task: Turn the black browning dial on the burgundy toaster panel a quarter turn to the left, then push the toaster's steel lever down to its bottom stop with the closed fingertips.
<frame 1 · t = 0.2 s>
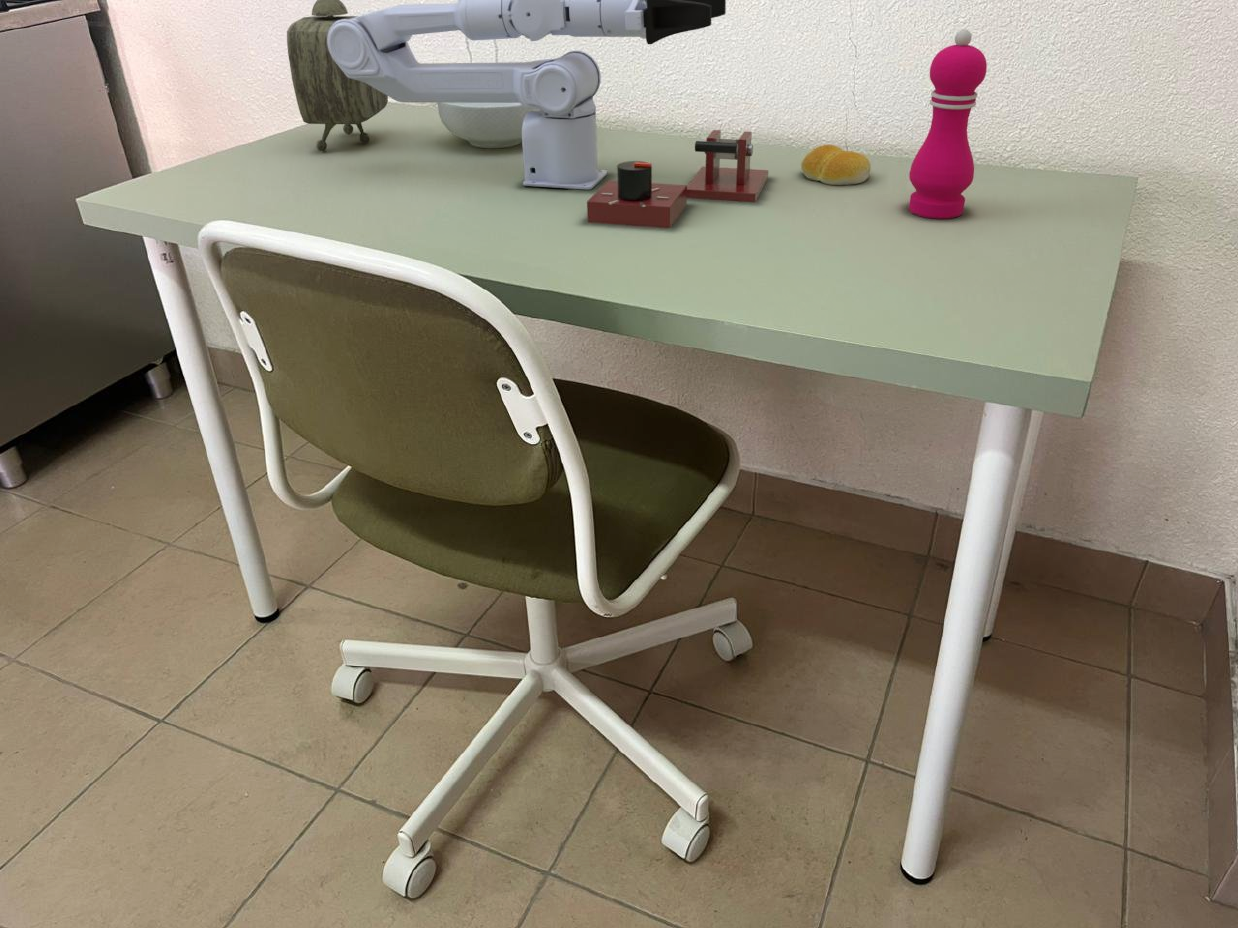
hand: (718, 10, 112), 21 cm above the table, tool horizontal, fingers open, 7 cm apart
toaster lever: (723, 148, 118), point 6 cm above the table, hinge at 15.0°
red lever base: (727, 188, 124), on the table
browning dial: (634, 179, 112), point 5 cm above the table, hinge at 0.0°
bread roll: (834, 179, 127), on the table
pepper mill: (935, 212, 115), on the table
cereal bowl: (497, 143, 147), on the table
toaster panel: (638, 214, 115), on the table
tabletop clock: (353, 144, 148), on the table
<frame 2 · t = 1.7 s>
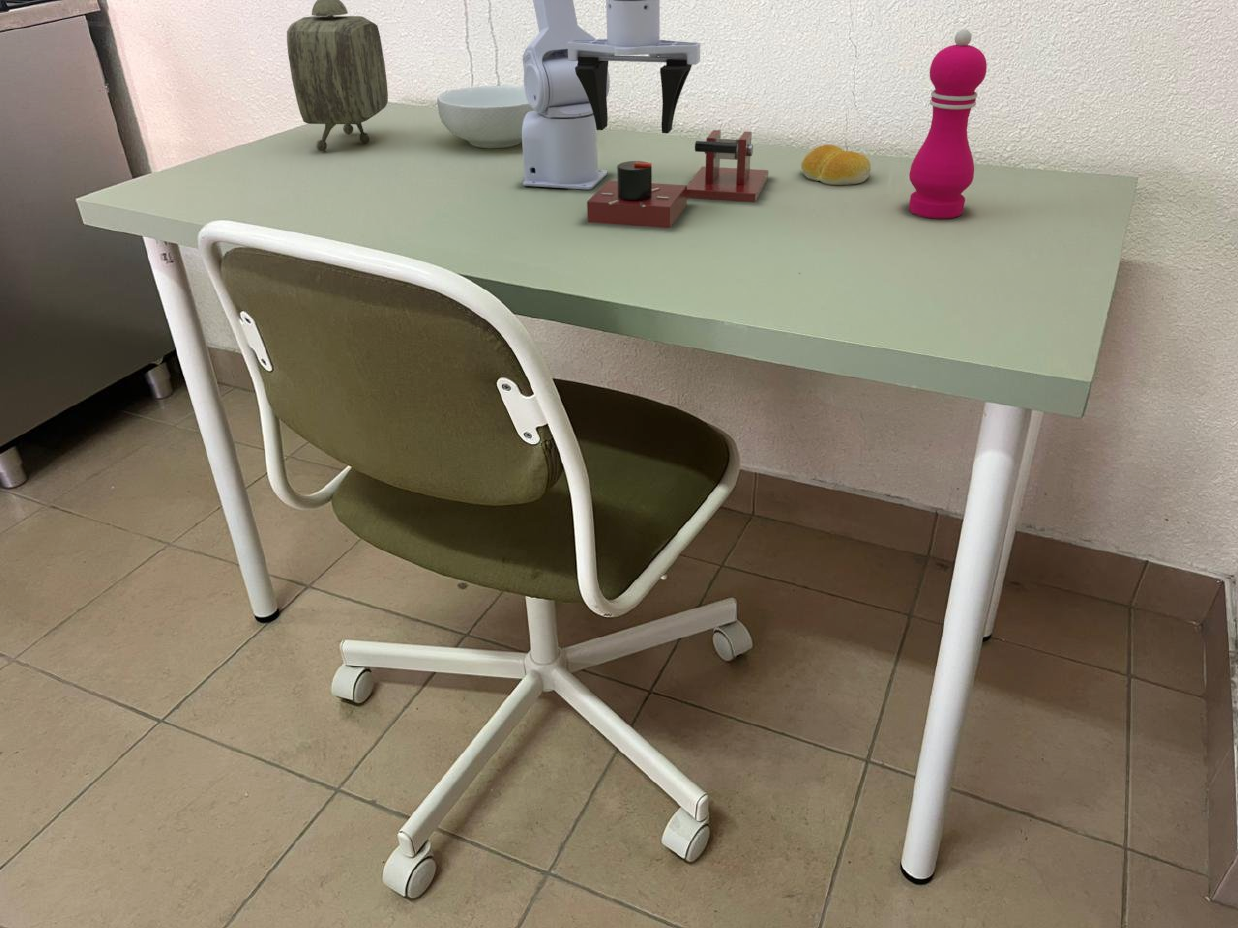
hand: (634, 130, 109), 10 cm above the table, tool pointing down, fingers open, 7 cm apart
nothing on the table moved.
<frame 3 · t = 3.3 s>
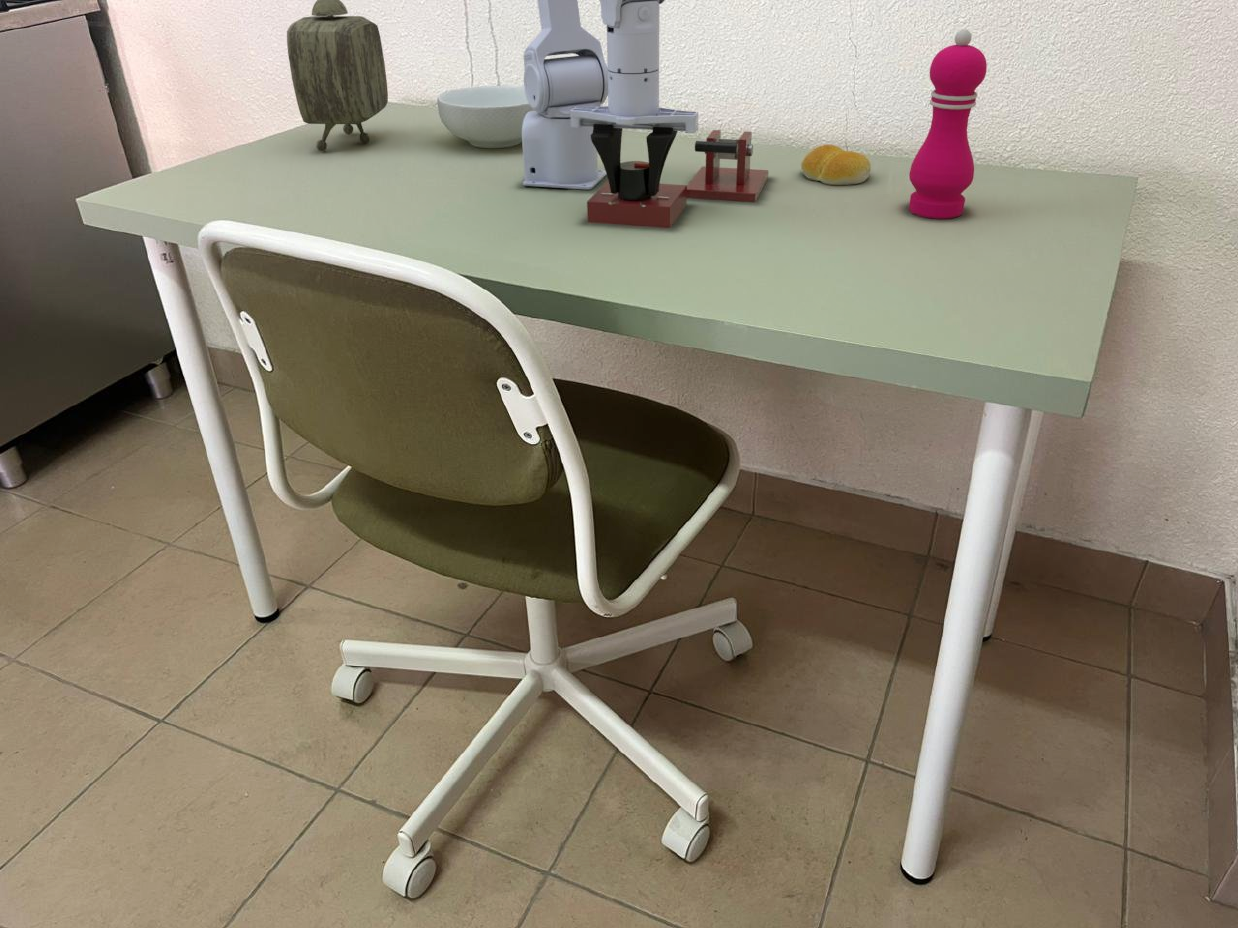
hand: (634, 192, 113), 3 cm above the table, tool pointing down, fingers closed on browning dial, 4 cm apart
browning dial: (634, 179, 112), point 5 cm above the table, hinge at -0.1°, touching gripper
everything else where it was.
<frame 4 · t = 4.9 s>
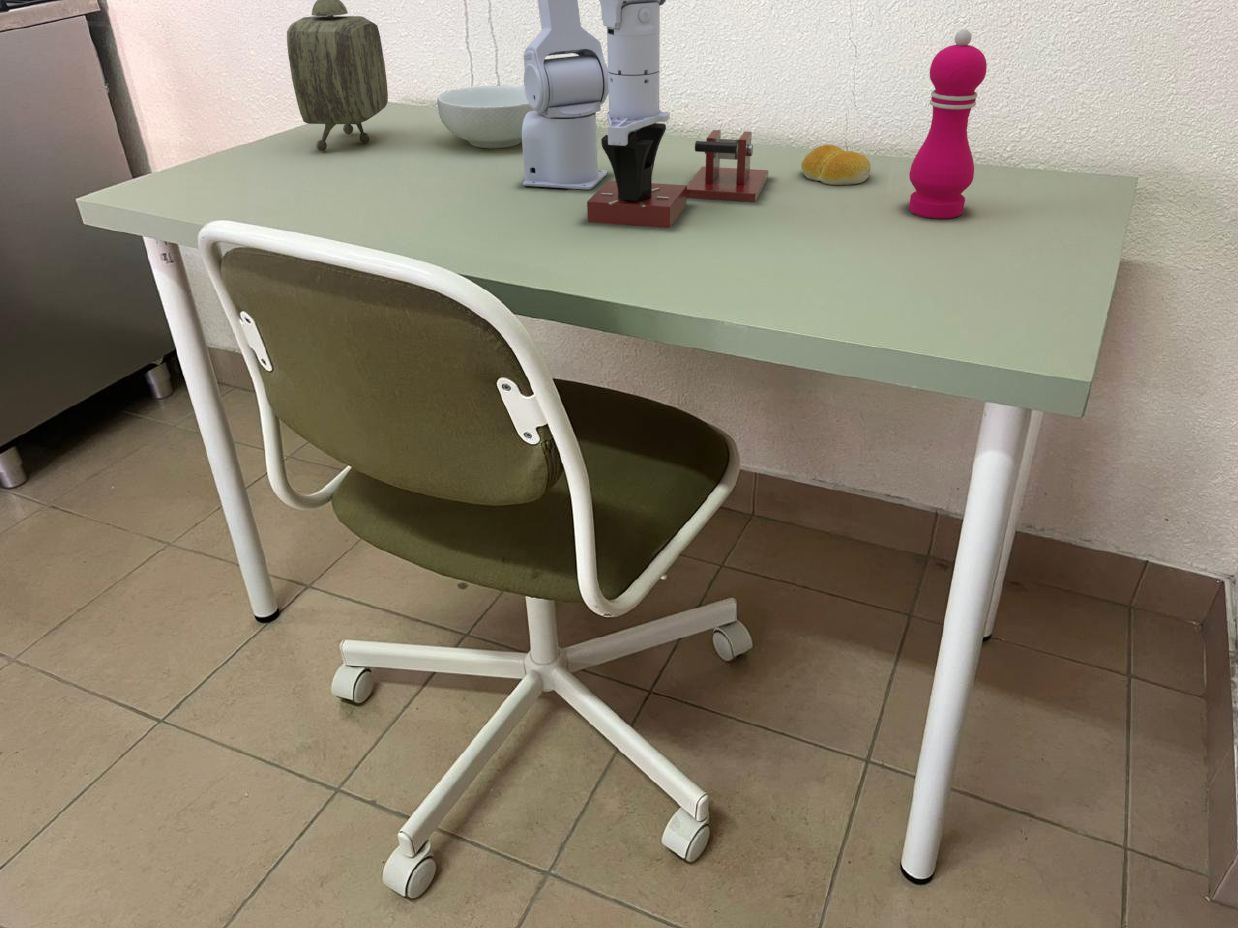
hand: (635, 194, 113), 3 cm above the table, tool pointing down, fingers closed on browning dial, 4 cm apart
browning dial: (634, 179, 112), point 5 cm above the table, hinge at 89.9°, touching gripper
everything else where it was.
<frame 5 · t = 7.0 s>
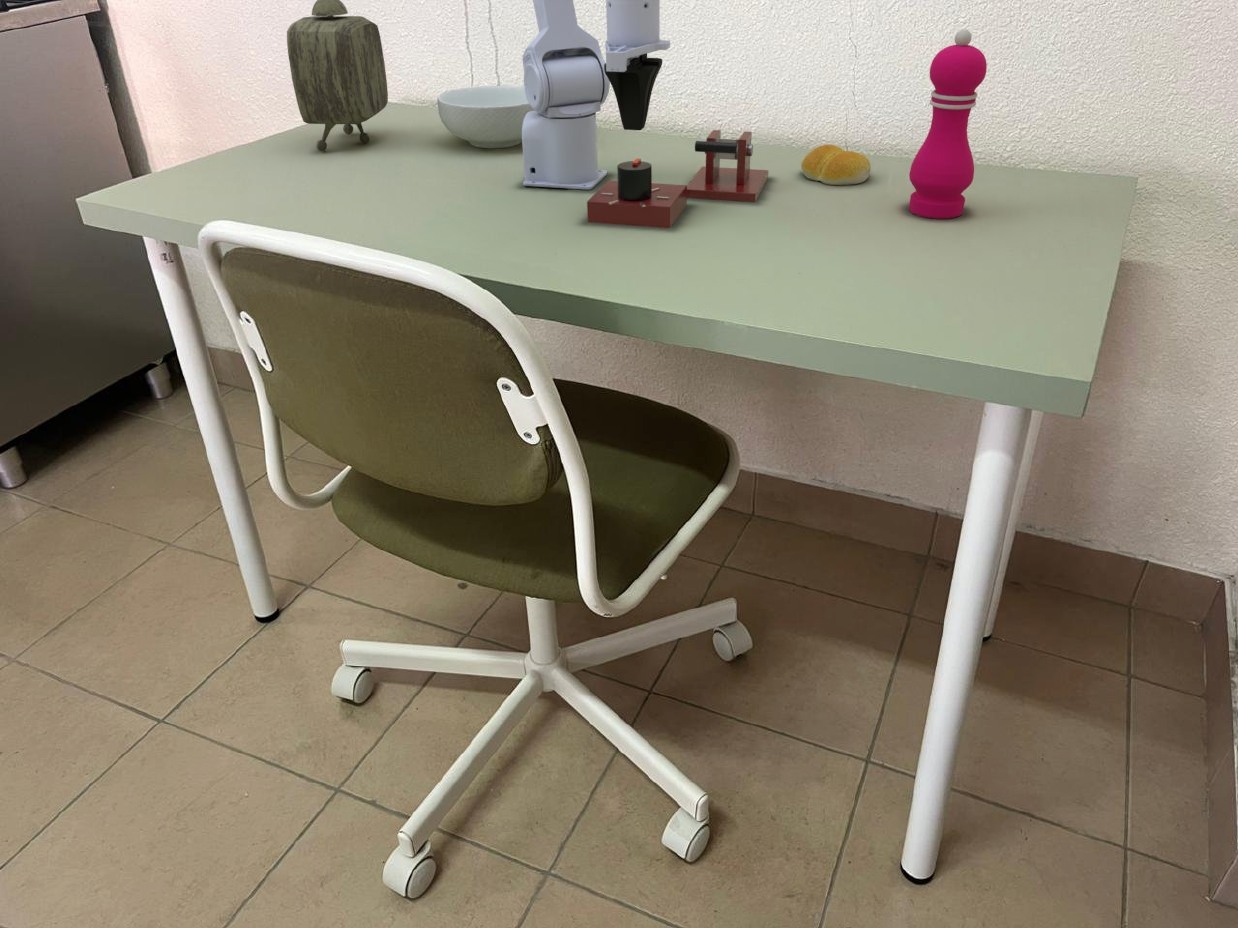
hand: (634, 128, 109), 10 cm above the table, tool pointing down, fingers closed
browning dial: (634, 179, 112), point 5 cm above the table, hinge at 90.4°
everything else where it was.
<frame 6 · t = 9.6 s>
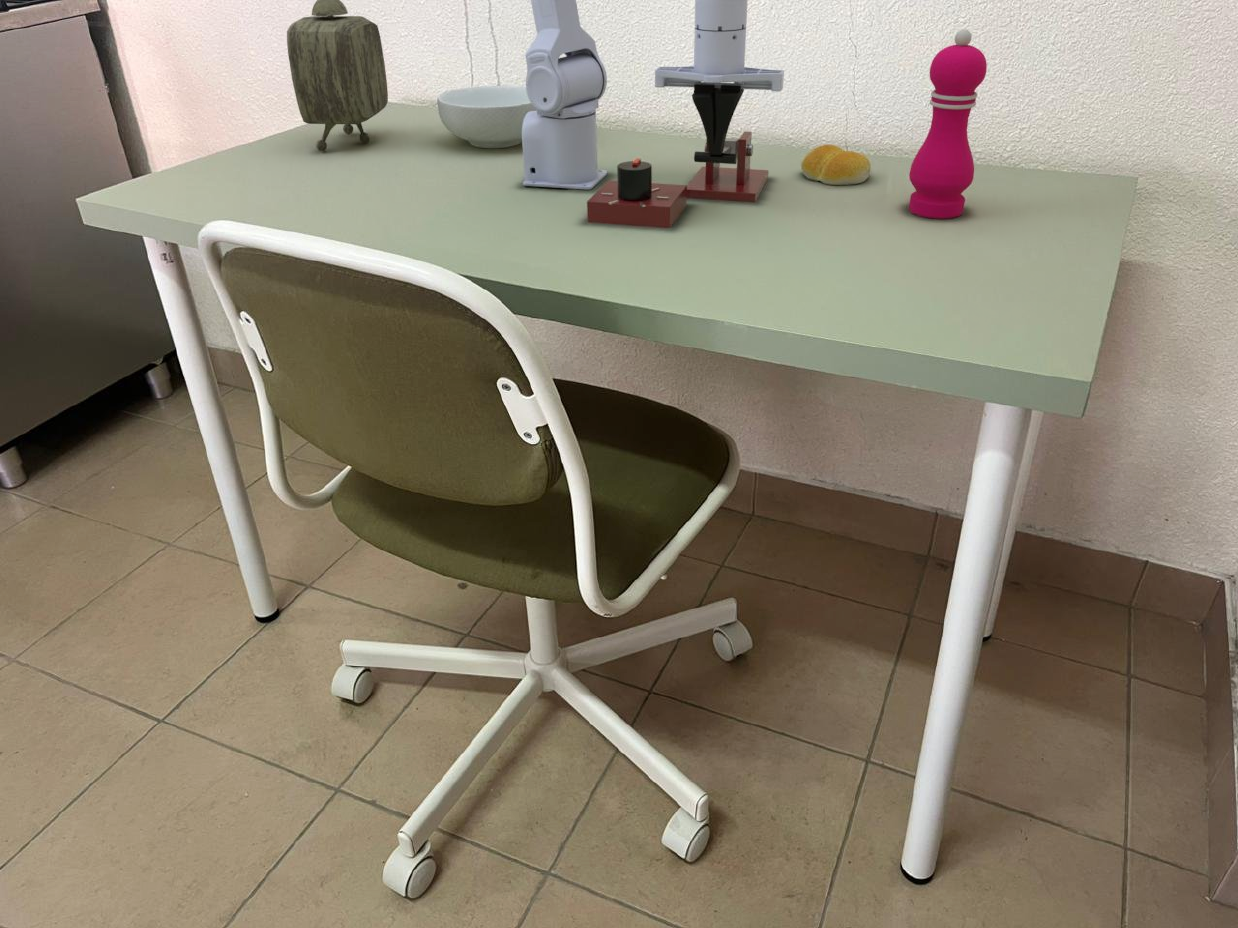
hand: (716, 153, 113), 7 cm above the table, tool pointing down, fingers closed, pressing on toaster lever
toaster lever: (723, 153, 118), point 6 cm above the table, hinge at 7.4°, touching gripper
everything else where it was.
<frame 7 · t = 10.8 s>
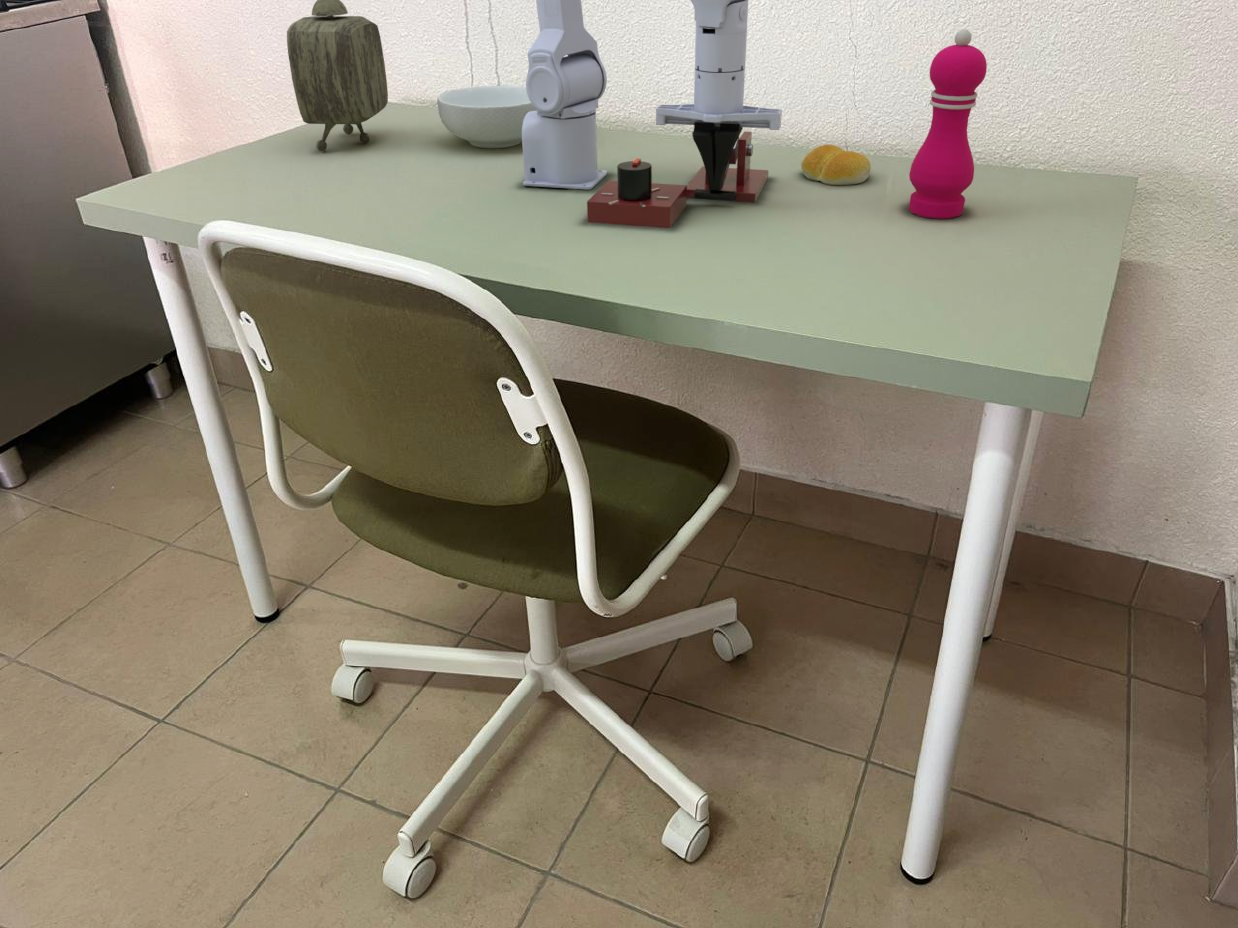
hand: (715, 188, 116), 2 cm above the table, tool pointing down, fingers closed, pressing on toaster lever
toaster lever: (722, 169, 119), point 3 cm above the table, hinge at -22.6°, touching gripper
everything else where it was.
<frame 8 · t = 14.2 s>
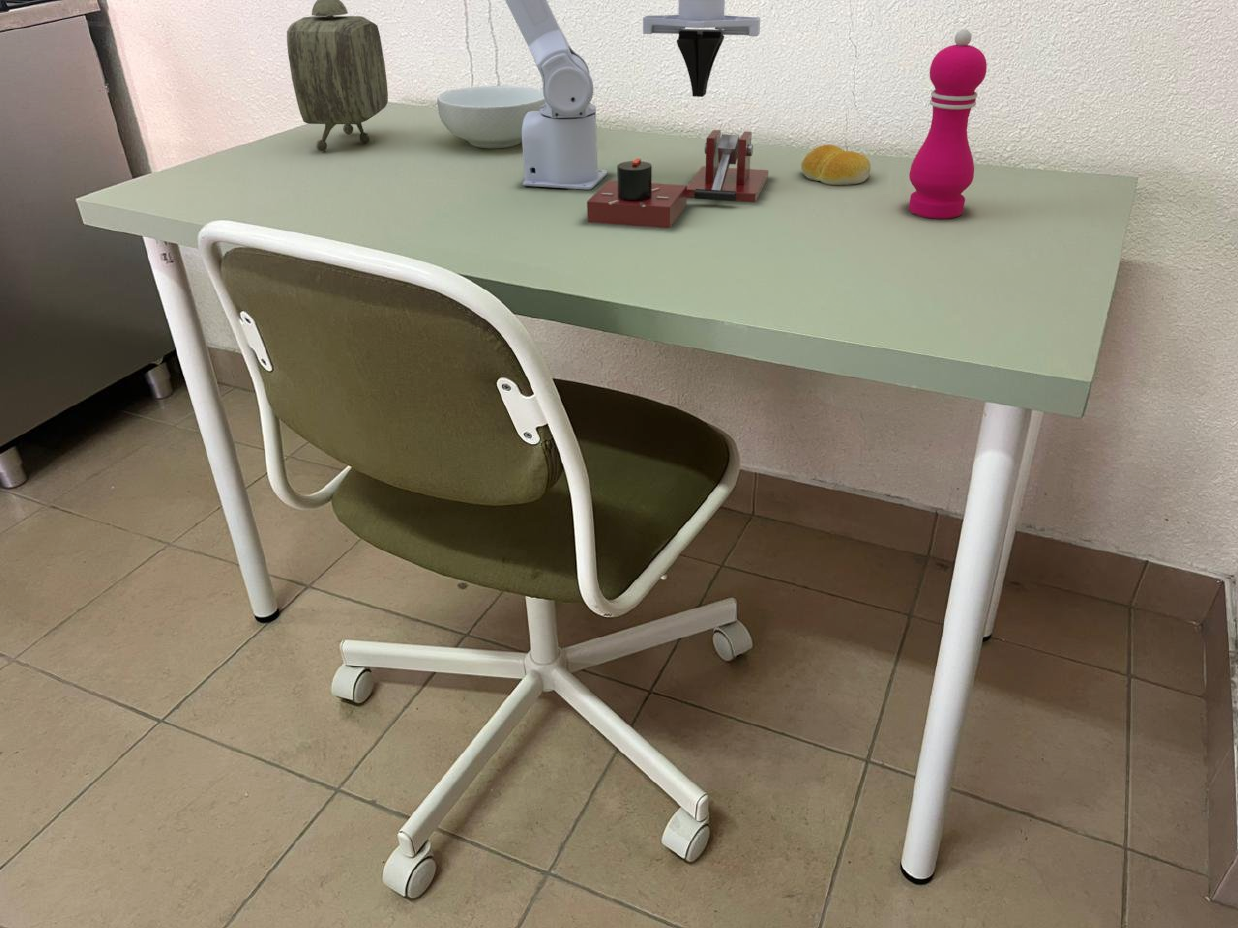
hand: (699, 95, 124), 10 cm above the table, tool pointing down, fingers closed
toaster lever: (722, 169, 119), point 3 cm above the table, hinge at -22.6°
everything else where it was.
at the end: browning dial at +90° (first picture: +0°); toaster lever at -23° (first picture: +15°) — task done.
